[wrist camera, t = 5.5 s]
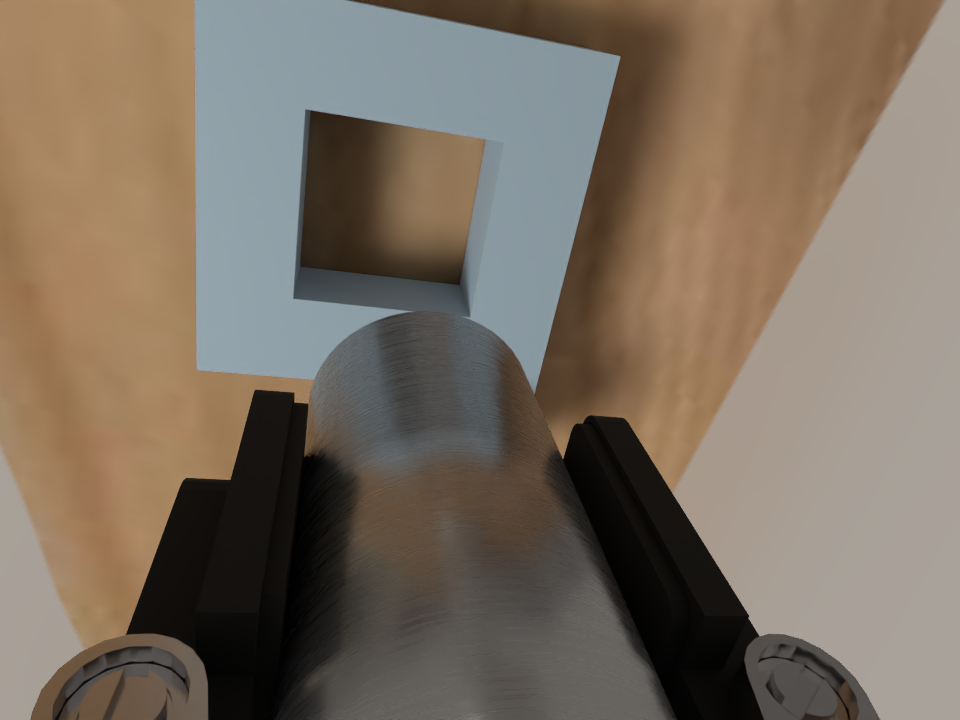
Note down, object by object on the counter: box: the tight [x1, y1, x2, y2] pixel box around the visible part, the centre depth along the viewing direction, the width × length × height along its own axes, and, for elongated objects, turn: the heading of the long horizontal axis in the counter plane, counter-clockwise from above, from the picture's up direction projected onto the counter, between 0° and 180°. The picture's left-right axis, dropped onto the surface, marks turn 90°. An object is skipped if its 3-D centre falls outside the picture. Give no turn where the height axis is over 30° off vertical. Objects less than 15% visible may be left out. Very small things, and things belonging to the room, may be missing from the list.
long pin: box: [268, 311, 677, 720], centre depth 8 cm, size 4×4×10 cm
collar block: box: [195, 0, 621, 394], centre depth 23 cm, size 12×12×3 cm
